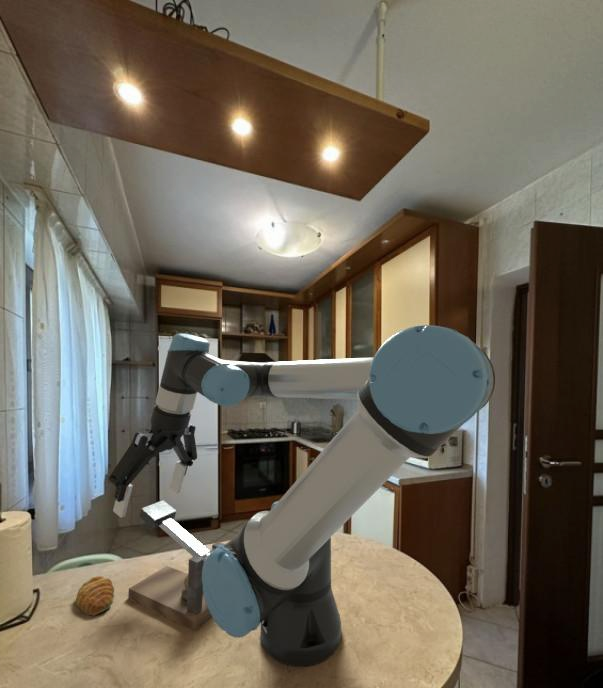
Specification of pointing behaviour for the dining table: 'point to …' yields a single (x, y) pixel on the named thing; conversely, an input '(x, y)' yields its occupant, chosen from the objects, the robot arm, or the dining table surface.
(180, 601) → the nutcracker base
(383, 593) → the dining table surface
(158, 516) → the lever
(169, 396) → the robot arm
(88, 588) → the pastry
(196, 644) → the dining table surface
